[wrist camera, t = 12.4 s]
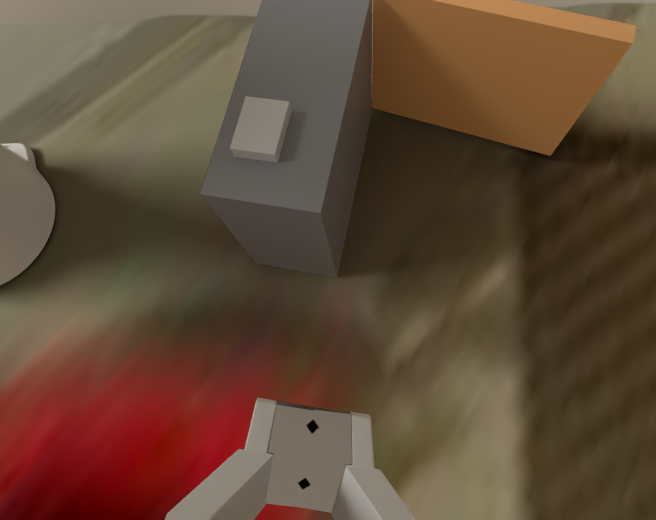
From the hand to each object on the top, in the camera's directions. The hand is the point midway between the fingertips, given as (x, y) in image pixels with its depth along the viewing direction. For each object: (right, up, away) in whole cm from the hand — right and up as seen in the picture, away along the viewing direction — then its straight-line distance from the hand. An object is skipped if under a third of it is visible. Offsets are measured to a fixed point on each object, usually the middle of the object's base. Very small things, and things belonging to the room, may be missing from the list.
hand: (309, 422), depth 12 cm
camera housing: (-1, +12, +33) cm, 35 cm away
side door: (+14, +18, +33) cm, 40 cm away
